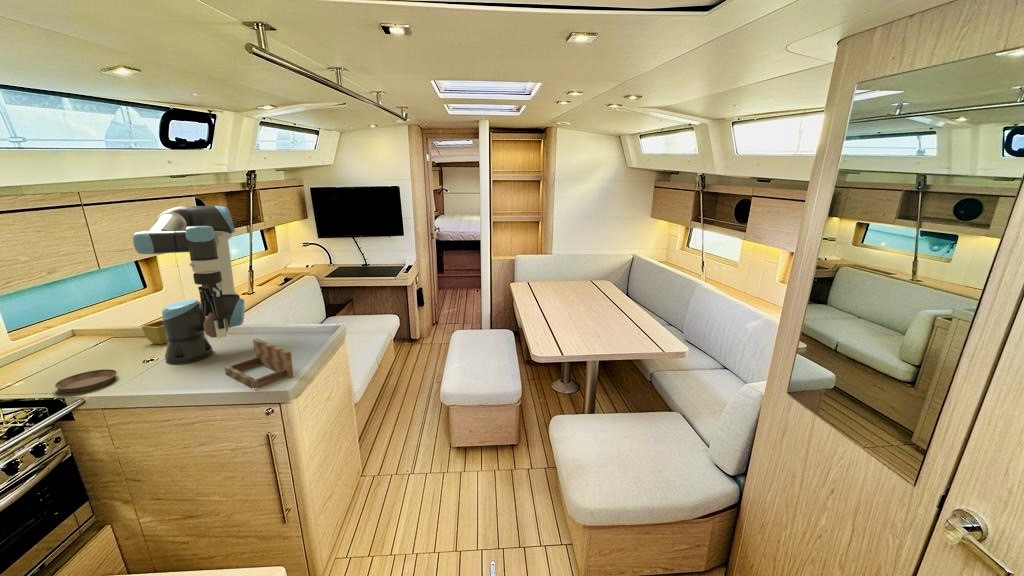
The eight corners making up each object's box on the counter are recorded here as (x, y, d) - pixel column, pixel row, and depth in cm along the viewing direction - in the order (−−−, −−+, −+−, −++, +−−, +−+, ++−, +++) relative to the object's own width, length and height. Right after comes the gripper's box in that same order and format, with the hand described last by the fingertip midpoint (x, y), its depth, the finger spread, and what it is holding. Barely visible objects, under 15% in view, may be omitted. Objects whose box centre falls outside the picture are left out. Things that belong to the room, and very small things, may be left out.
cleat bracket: (223, 373, 144) (219, 349, 142) (260, 361, 155) (256, 338, 153) (256, 390, 132) (252, 364, 130) (293, 376, 143) (290, 351, 141)
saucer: (115, 371, 144) (114, 365, 144) (121, 384, 135) (119, 377, 134) (56, 385, 133) (54, 378, 132) (57, 400, 124) (55, 393, 123)
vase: (215, 339, 131) (211, 315, 129) (200, 337, 133) (195, 313, 131) (234, 333, 138) (230, 310, 136) (219, 331, 139) (215, 308, 137)
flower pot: (144, 345, 168) (140, 325, 166) (165, 337, 176) (161, 319, 174) (161, 346, 167) (157, 327, 165) (181, 339, 175) (177, 321, 173)
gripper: (182, 270, 132) (194, 332, 137) (204, 276, 122) (216, 344, 127) (208, 267, 138) (218, 327, 144) (231, 273, 128) (241, 337, 133)
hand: (217, 334), depth 135 cm, fingers closed on vase, 7 cm apart
